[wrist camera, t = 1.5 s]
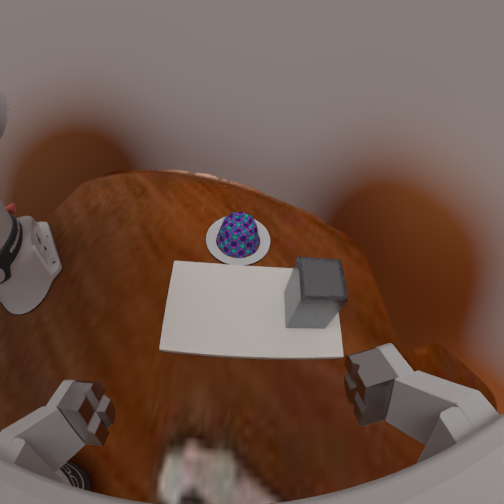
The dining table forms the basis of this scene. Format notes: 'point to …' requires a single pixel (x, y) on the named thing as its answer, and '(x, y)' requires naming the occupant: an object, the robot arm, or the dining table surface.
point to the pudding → (238, 239)
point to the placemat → (238, 315)
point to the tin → (314, 293)
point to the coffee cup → (74, 476)
